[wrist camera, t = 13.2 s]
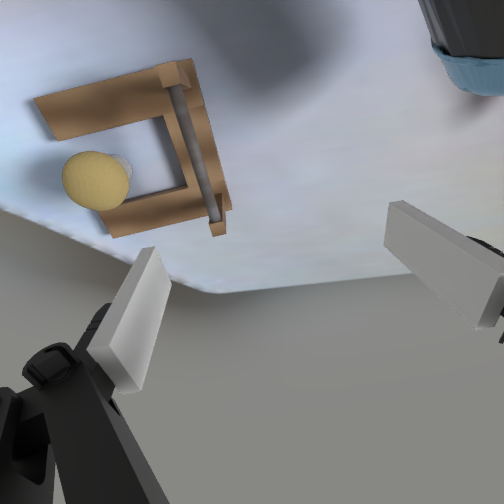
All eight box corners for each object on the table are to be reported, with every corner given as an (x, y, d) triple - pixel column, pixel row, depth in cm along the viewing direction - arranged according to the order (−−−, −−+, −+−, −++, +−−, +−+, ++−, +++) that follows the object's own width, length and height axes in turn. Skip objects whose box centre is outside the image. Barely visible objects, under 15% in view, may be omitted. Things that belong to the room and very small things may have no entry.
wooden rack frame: (44, 98, 30) (-50, 96, 19) (192, 60, 29) (177, 38, 19) (117, 232, 39) (80, 279, 29) (231, 204, 39) (235, 241, 28)
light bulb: (91, 137, 32) (44, 149, 24) (144, 149, 34) (118, 164, 25) (94, 186, 35) (54, 213, 27) (143, 195, 37) (119, 223, 28)
